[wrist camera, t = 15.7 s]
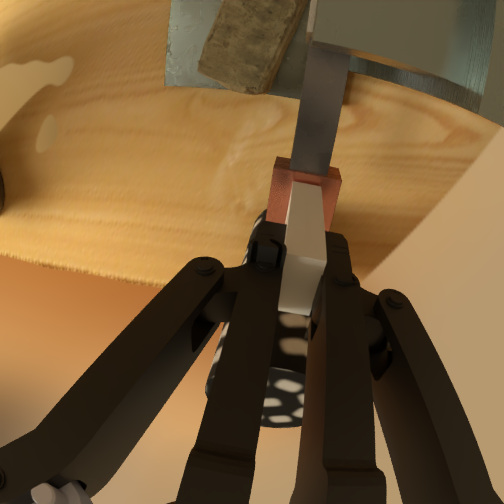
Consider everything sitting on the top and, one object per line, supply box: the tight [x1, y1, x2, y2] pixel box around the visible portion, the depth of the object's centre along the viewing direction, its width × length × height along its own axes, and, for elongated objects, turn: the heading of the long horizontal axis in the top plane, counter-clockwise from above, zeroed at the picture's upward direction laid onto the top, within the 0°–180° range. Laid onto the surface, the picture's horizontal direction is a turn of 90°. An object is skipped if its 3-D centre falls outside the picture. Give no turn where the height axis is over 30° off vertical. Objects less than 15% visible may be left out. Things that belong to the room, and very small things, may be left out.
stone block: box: [197, 0, 308, 95], centre depth 20 cm, size 6×12×5 cm, turn 160°
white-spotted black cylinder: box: [205, 209, 312, 428], centre depth 27 cm, size 8×8×20 cm
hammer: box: [265, 0, 351, 232], centre depth 16 cm, size 4×13×9 cm, turn 174°
